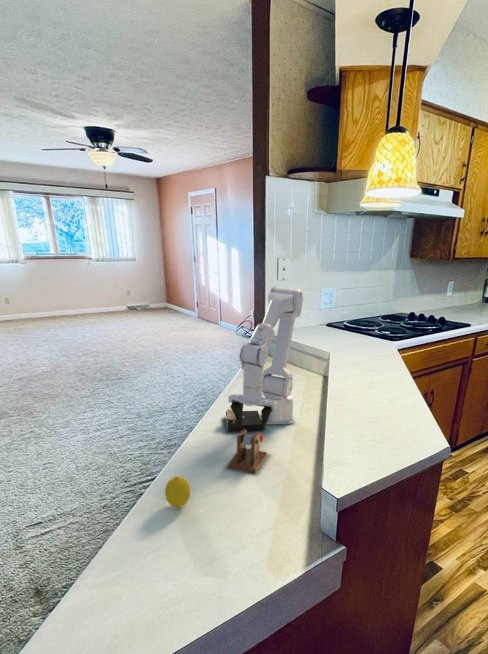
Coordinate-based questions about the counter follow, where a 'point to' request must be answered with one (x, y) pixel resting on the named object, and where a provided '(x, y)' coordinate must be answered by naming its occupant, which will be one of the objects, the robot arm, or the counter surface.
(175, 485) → the lemon
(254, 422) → the control panel
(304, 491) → the counter surface
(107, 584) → the counter surface
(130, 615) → the counter surface
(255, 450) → the switch bracket
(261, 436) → the lever
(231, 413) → the dial
